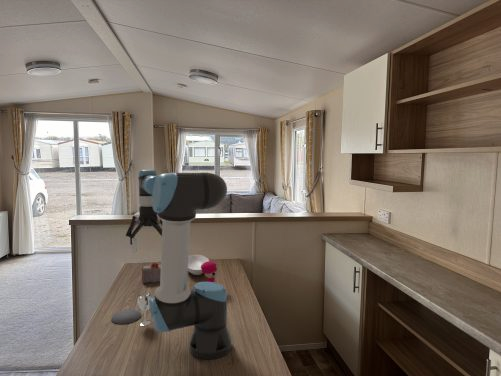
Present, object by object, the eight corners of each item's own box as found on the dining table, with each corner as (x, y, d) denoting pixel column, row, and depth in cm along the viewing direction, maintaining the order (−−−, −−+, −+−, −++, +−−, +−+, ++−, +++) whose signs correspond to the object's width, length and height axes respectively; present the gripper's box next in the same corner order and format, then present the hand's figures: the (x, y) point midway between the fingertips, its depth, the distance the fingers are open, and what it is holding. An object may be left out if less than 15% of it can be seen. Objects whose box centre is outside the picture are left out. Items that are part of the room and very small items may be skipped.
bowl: (183, 264, 215) (183, 255, 215) (206, 263, 219) (206, 254, 218) (185, 281, 186) (185, 270, 186) (212, 279, 190) (212, 268, 189)
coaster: (133, 324, 137) (133, 323, 137) (105, 323, 138) (105, 321, 138) (145, 311, 149) (145, 310, 149) (120, 310, 150) (120, 308, 150)
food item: (166, 277, 193) (166, 260, 192) (168, 281, 185) (167, 264, 184) (141, 279, 188) (141, 262, 187) (142, 284, 180) (142, 267, 180)
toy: (214, 293, 169) (214, 264, 168) (198, 292, 171) (198, 263, 169) (219, 287, 177) (219, 259, 176) (204, 286, 179) (204, 258, 178)
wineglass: (147, 318, 142) (146, 291, 141) (155, 322, 139) (154, 294, 138) (134, 323, 138) (134, 295, 137) (142, 328, 134) (142, 299, 133)
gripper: (178, 204, 149) (179, 251, 150) (125, 203, 151) (126, 249, 153) (172, 207, 141) (173, 256, 143) (116, 205, 144) (118, 253, 146)
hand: (149, 252), depth 148 cm, fingers open, 13 cm apart
